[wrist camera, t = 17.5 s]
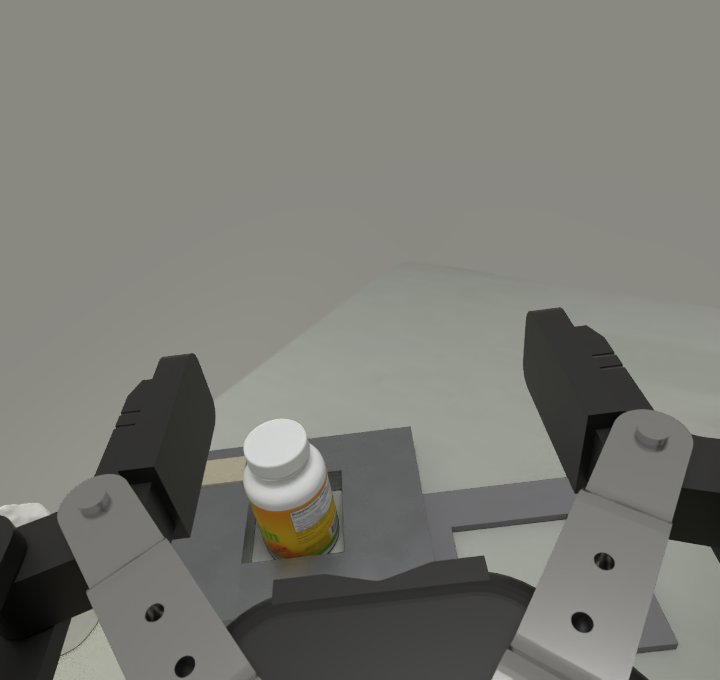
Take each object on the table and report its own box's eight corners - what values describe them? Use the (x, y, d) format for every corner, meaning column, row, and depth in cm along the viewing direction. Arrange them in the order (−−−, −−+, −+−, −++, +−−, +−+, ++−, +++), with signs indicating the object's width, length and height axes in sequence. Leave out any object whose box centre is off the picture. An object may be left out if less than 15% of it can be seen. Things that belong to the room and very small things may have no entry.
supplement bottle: (253, 530, 41) (216, 439, 35) (314, 490, 43) (289, 398, 38) (290, 584, 37) (256, 491, 32) (355, 537, 40) (334, 442, 34)
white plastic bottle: (1, 450, 33) (42, 495, 30) (83, 563, 41) (123, 609, 37) (-112, 520, 30) (-79, 579, 27) (0, 630, 37) (36, 687, 34)
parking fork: (403, 501, 42) (402, 496, 41) (593, 479, 41) (594, 473, 41) (427, 675, 32) (427, 671, 32) (676, 648, 31) (678, 643, 31)
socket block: (412, 445, 46) (410, 424, 44) (441, 614, 35) (439, 593, 33) (195, 471, 46) (186, 451, 45) (154, 646, 35) (140, 627, 34)
